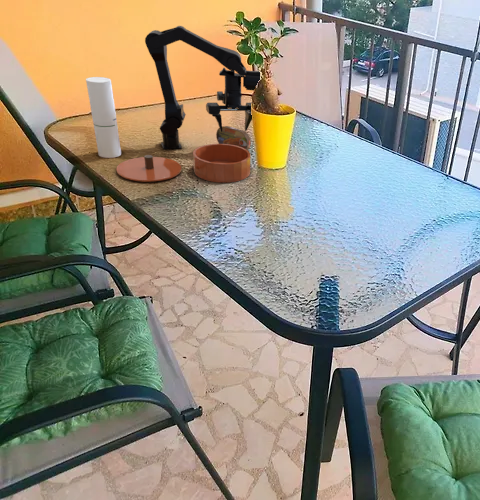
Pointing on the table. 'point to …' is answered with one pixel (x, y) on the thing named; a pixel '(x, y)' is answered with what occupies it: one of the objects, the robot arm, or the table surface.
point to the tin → (233, 137)
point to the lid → (149, 168)
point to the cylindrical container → (104, 116)
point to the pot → (221, 162)
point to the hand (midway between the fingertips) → (233, 131)
